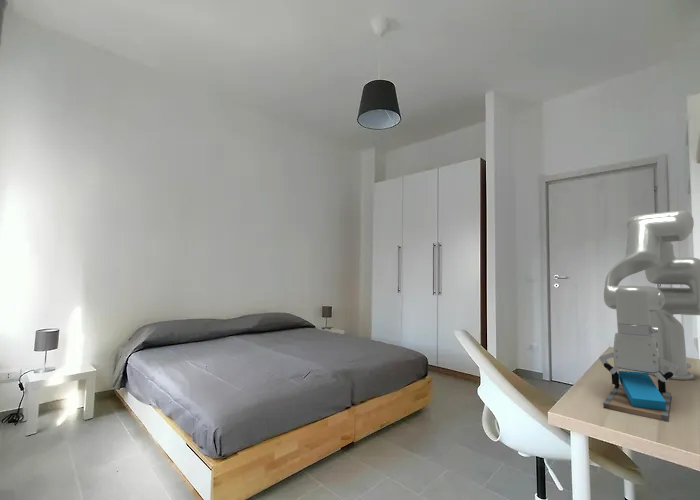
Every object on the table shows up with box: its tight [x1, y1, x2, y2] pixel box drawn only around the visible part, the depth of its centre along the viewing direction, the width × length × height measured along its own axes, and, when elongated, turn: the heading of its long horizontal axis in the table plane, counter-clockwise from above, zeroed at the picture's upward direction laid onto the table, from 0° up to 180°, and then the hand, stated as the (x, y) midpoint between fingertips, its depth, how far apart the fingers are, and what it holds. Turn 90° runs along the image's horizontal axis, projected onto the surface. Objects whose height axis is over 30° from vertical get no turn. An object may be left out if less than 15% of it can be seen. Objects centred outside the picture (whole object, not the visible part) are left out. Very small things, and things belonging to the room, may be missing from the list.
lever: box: [617, 370, 666, 410], centre depth 98 cm, size 7×7×18 cm
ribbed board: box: [603, 383, 673, 422], centre depth 98 cm, size 24×13×1 cm, turn 136°
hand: (638, 391), depth 98 cm, fingers open, 9 cm apart
